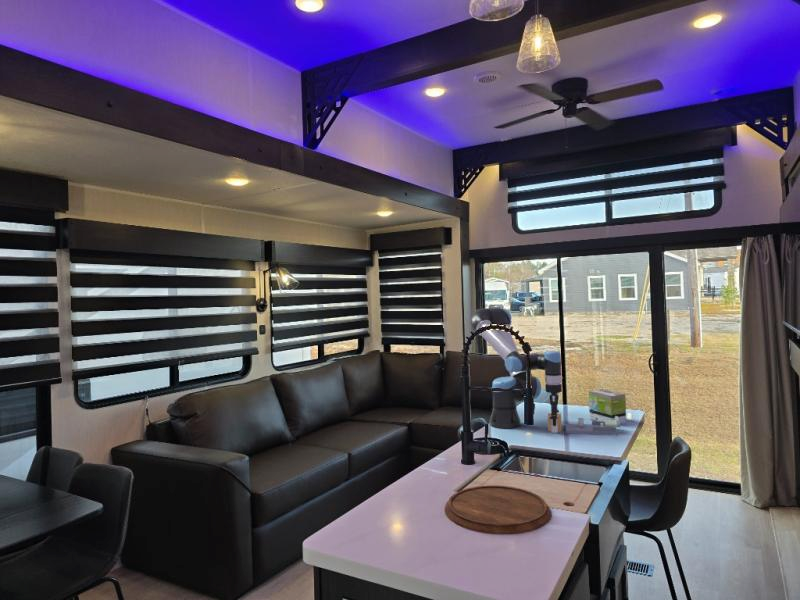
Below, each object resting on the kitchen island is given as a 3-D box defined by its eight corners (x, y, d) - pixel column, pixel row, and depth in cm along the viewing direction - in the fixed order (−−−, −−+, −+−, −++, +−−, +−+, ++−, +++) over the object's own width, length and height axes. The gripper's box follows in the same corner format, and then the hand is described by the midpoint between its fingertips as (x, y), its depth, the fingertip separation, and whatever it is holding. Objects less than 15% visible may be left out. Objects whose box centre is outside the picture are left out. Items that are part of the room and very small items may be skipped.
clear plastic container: (565, 432, 243) (565, 421, 243) (565, 426, 254) (565, 415, 254) (616, 435, 236) (616, 423, 236) (614, 428, 248) (614, 416, 248)
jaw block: (548, 430, 247) (547, 416, 247) (548, 427, 253) (548, 413, 253) (561, 431, 245) (560, 416, 245) (561, 428, 251) (561, 413, 251)
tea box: (588, 419, 266) (588, 390, 266) (603, 417, 270) (602, 388, 270) (612, 425, 253) (611, 395, 252) (627, 423, 257) (626, 393, 257)
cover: (605, 426, 239) (605, 420, 239) (604, 422, 247) (604, 415, 247) (619, 427, 237) (619, 420, 237) (617, 422, 245) (617, 416, 245)
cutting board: (478, 485, 182) (478, 477, 182) (568, 506, 162) (567, 497, 162) (423, 517, 157) (423, 508, 157) (521, 546, 137) (521, 537, 137)
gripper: (561, 388, 237) (563, 436, 237) (561, 379, 259) (563, 423, 259) (544, 387, 239) (545, 435, 239) (546, 379, 261) (547, 422, 261)
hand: (554, 429), depth 249 cm, fingers open, 11 cm apart
